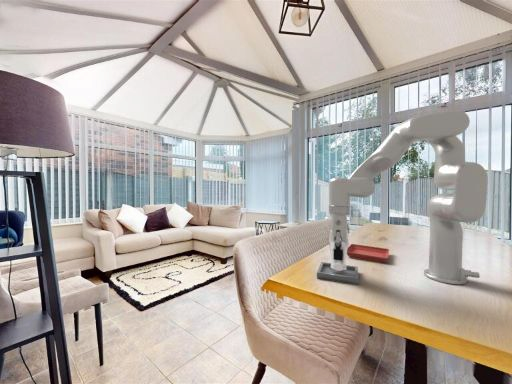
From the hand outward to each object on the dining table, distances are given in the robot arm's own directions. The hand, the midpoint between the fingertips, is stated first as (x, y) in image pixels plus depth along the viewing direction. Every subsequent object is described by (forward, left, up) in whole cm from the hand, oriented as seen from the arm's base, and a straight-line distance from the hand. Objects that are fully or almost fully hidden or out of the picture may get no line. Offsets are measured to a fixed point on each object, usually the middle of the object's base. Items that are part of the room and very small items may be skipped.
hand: (338, 256), depth 88 cm
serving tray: (0, 0, -7) cm, 7 cm away
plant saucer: (-12, -32, -8) cm, 35 cm away
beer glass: (0, 0, -5) cm, 5 cm away
